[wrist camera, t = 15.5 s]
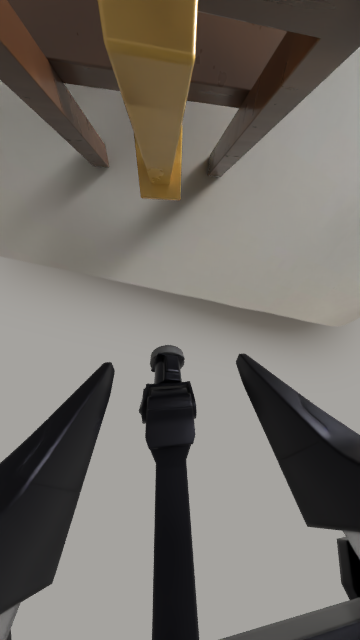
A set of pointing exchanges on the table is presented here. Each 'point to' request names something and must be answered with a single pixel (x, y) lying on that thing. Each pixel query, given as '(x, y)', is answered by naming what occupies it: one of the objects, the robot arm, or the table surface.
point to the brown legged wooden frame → (208, 71)
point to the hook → (153, 81)
